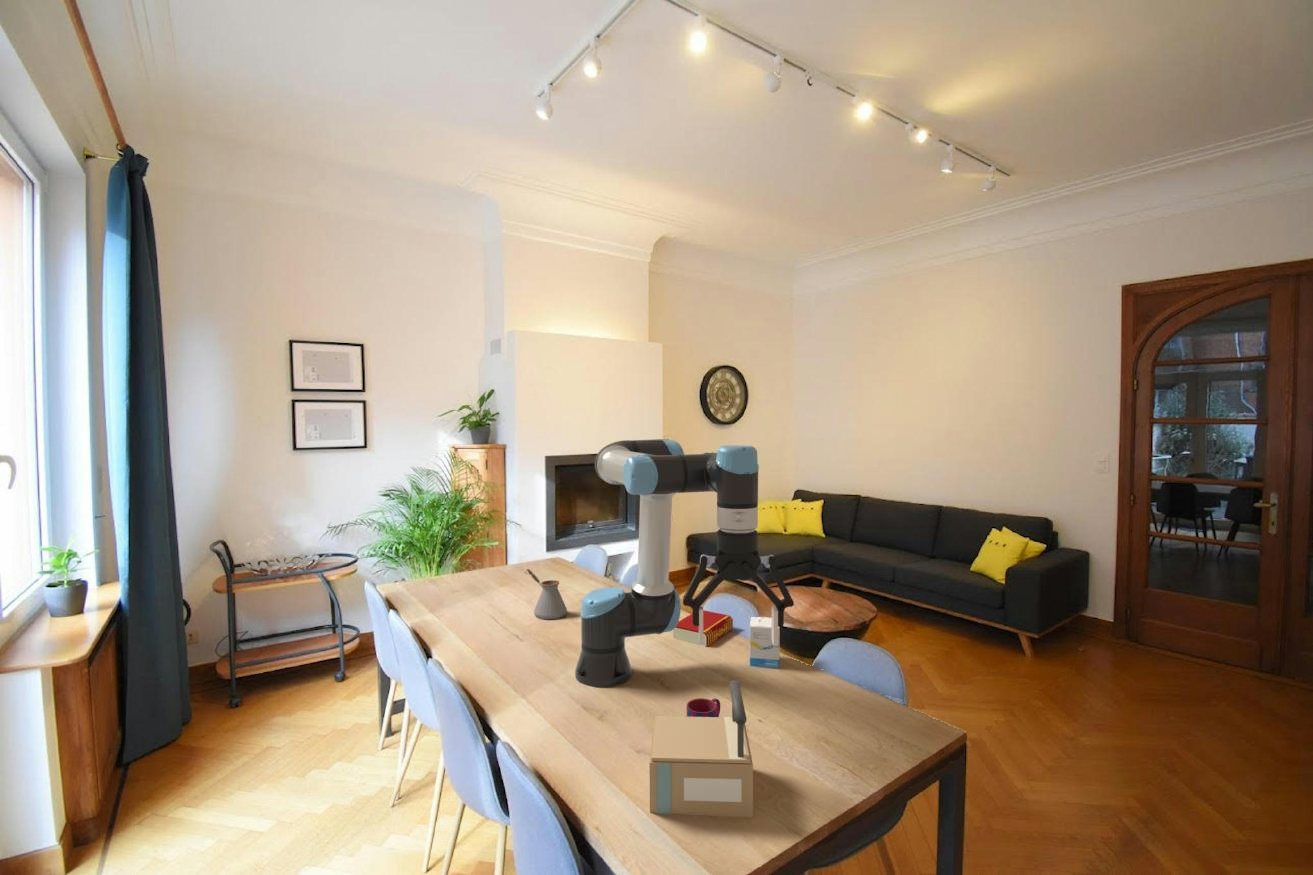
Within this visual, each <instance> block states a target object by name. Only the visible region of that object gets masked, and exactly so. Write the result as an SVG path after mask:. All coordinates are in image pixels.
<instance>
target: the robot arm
mask: <svg viewBox="0 0 1313 875" xmlns="http://www.w3.org/2000/svg"><path fill="white" fill-rule="evenodd" d="M594 469H595V472H596V474H597V476H598V477H599V478H600V479H601V480H602V481H604V482H605V483H608V484H611V485H622V486H623V485H624V487H625V490H626V492H627V493H628V494H630V495H639V496H640V497H639V519H638V520H639V523H638V527H639V528H638V547H637V548H638V549H637V550H638V552H637V553H638V554H637V577H636V578H637V579H636V580H634V581H633V582H632V584H631V591H630V592H625V590H624V589H623V588H622V587H618V586H614V587H612V586H606V587H600V588H596V589H594V590H591V591H590V592H588V593H586V594H585V595H584V596H583V597H582V600H581V605H580V606H581V607H580V608H581V609H580V617H581V618H580V620H581V625H580V626H581V630H580V631H581V651H580V653H579V658H578V661H577V664H576V667H575V672H574V674H575V675H574V677H575V679H576V681H577V682H579V683H580V684H582V685H584V686H588V687H593V688H611V687H616V686H620V685H623V684H624V683H626V682H628V681H630V679H631V678H632V666H631V663H630V659H629V657H628V654H627V650H626V648H625V647H626V645H625V644H626V642H625V640H626V639H625V638H631V637H632V638H633V637H640V636H648V635H662V634H663V633H668V632H672V631H673V629H674V628H675V627H676V626H677V624H678V622H679V621H680V618H681V617H680V616H681V610H682V609H681V607H682V606H681V597H680V595H679V591H677V589H675V587H674V586H675V585H674V584H673V583H672V582H671V581H670V580H669V579H670V576H669V575H670V555H671V554H670V552H671V536H672V535H671V533H672V532H671V531H672V529H671V528H672V511H673V510H672V508H673V507H672V506H673V497H674V496H676V494H681V493H682V494H687V493H705V492H706V493H707V492H708V493H709V492H714V493H716V526H717V528H719V529H718V530H717V531H716V554H715V555H713V556H712V555H708V554H706V553H701V554H700V558H699V565H698V567H697V569H696V571H695V573H694V575H693V577H692V579H691V581H690V584H689V585H688V588H687V589H686V591H685V593H684V596H683V597H682V604H683V606H685V607H689V608H691V609H692V613H693V625H694V626H699V645H698V646H701V645H703V610H704V605H703V604H704V603H705V602H706V600H707V599H708V598H709V597H710V595H712V593H713V592H714V591H715V589H716V588H718V587H719V585H720V584H722V582H724V580H725V579H726V580H729V581H737V580H739V581H743V582H744V581H747V580H749V579H751V580H752V581H753V582H754V583H755V584H756V585H757V586H758V587H759V588H760V590H761V591H762V592H763V593H764V595H765V596H766V597H767V598H768V599H769V600H770V601H771V602H772V604H773V606H771V618H772V643H773V645H774V646H778V627H780V628H782V627H783V626H784V625H785V624H784V623H785V620H784V619H785V617H784V616H785V615H784V614H785V612H784V611H785V609H787V608H789V607H790V608H792V607H794V605H795V602H794V599H793V598H792V596H791V594H790V592H789V590H788V588H787V586H786V584H785V582H784V580H783V578H782V576H781V574H780V572H779V571H778V568H777V559H776V558H775V556H774V554H772V553H768V554H767V555H765V556H764V555H763V556H762V555H761V556H760V555H759V532H758V531H757V530H756V529H757V528H758V527H759V514H758V513H759V512H758V511H759V510H758V509H759V507H758V505H759V469H760V466H759V460H758V451H757V448H756V447H754V446H752V445H737V444H736V445H734V444H733V445H720V446H719V447H718V449H717V450H716V452H704V453H699V454H698V453H694V454H693V453H692V454H685V451H684V450H683V447H682V445H681V444H680V443H679V442H678V441H676V440H675V439H674V440H673V439H662V438H660V439H659V438H658V439H636V440H635V439H634V440H630V439H629V440H619V441H614V442H611V443H609V444H607V445H606V446H603V448H601V449H600V450H599V452H597V455H596V457H595V458H594ZM712 564H715V565H716V567H717V569H718V570H717V571H716V572H715V574H714V575H713V577H712V578H711V579H710V580H709V581H708V582H707V583H706V584H705V586H704V587H703V588H702V590H700V592H699V593H698V594H697V595H696V597H694V595H695V594H696V591H697V589H698V588H699V586H700V583H701V581H702V580H703V578H704V576H705V573H706V572H707V569H709V568H710V567H711V566H712ZM761 564H763V565H764V567H765V568H766V569H769V571H770V573H771V575H772V577H773V579H774V581H775V583H776V585H777V587H778V589H779V591H780V593H781V595H782V597H783V598H782V599H780V597H779V596H778V595H777V594H776V593H775V591H773V589H772V588H771V587H770V586H769V584H767V583H766V581H765V580H764V579H763V578H762V577H761V576H760V574H759V573H758V571H757V570H758V568H759V567H760V565H761ZM693 597H694V598H693Z"/></svg>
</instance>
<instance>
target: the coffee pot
mask: <svg viewBox="0 0 1313 875" xmlns="http://www.w3.org/2000/svg"><path fill="white" fill-rule="evenodd" d="M526 572H527V573H526ZM524 573H525V574H526V575H528V574H529V575H531V578H532V579H533V580H534V581H535V583H537V584H539V586H540V587H541V588H542V590H541V592H540V595H539V597H538V600H537V602H536V605H535V608H534V610H533V613H534V616H535V617H536V618H538V619H540V620H547V621H548V620H549V621H550V620H557V619H561V618H563V617H564V616H565V615H567V610H568V609H567V606H566V604H565V601H564V600H563V597H562V595H561V593H560V591H559V589H558V587H559V585H560V581H559V580H554V579H553V580H545V581H542V582H541V581H540V579H539V578H538V577H537V576H536V575H535V574H534V573H533V571H531V569H529V568H527V569H526V570H525V571H524Z"/></svg>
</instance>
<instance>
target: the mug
mask: <svg viewBox="0 0 1313 875" xmlns="http://www.w3.org/2000/svg"><path fill="white" fill-rule="evenodd" d="M720 712H721V702H720V700H719V698H713V699H709V698H703V697H701V698H700V697H699V698H695V699H694V698H693V699H691V700H689V701H688V702H686V717H720V715H721V714H720Z"/></svg>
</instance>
